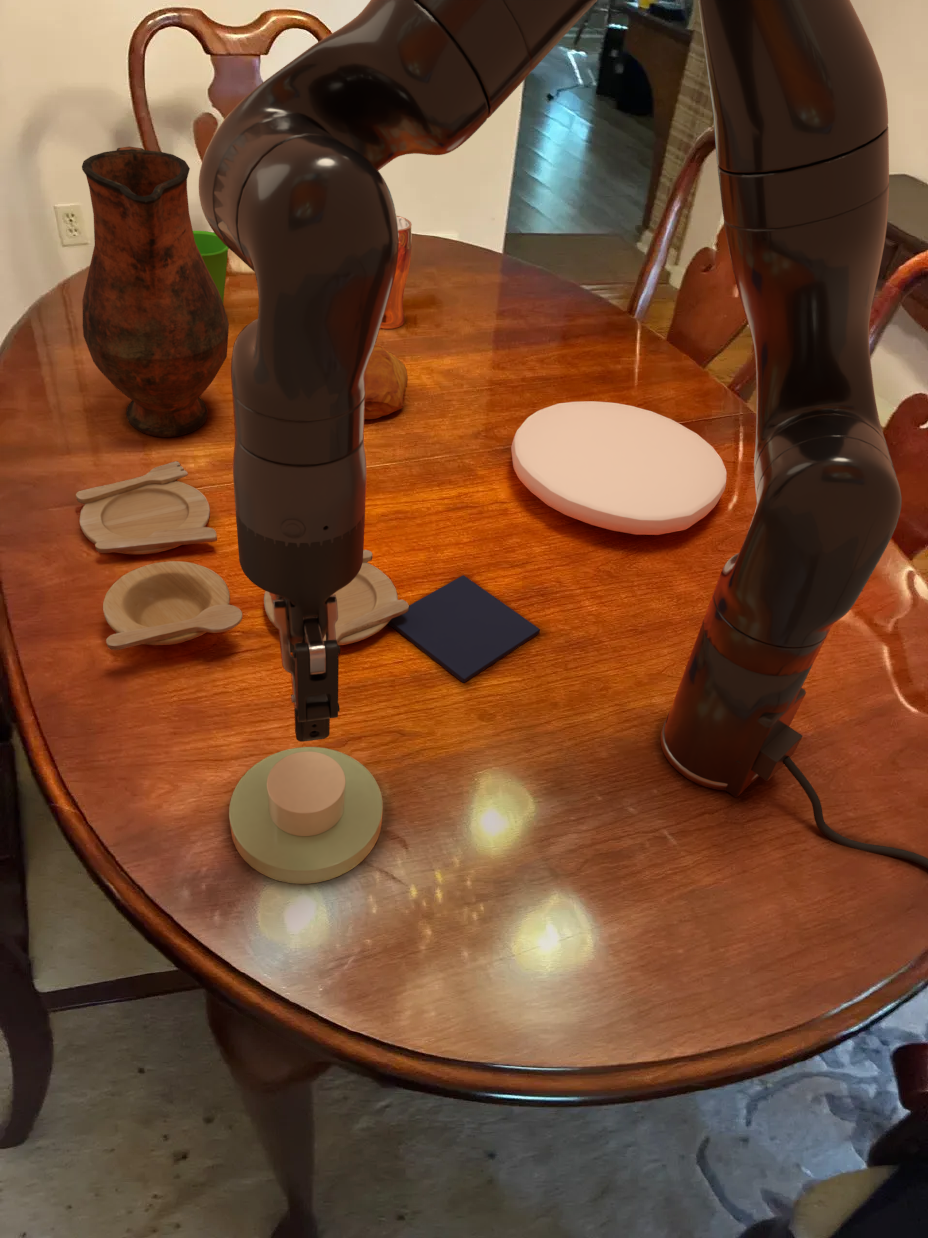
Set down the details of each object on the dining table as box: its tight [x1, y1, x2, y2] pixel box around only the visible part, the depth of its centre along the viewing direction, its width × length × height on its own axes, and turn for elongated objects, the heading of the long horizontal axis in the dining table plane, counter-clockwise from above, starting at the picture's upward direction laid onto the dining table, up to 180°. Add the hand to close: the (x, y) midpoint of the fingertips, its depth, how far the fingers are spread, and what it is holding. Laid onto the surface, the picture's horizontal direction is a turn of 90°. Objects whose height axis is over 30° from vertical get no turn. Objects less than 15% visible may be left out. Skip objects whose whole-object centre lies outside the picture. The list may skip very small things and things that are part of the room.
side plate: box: [228, 746, 384, 885], centre depth 74 cm, size 12×12×2 cm
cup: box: [193, 230, 230, 303], centre depth 136 cm, size 9×9×11 cm
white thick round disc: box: [510, 400, 728, 536], centre depth 114 cm, size 28×6×27 cm
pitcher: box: [81, 146, 230, 438], centre depth 109 cm, size 17×21×30 cm
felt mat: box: [387, 574, 541, 684], centre depth 93 cm, size 11×11×1 cm
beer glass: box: [380, 215, 413, 330], centre depth 139 cm, size 7×7×15 cm
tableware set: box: [75, 460, 410, 651], centre depth 95 cm, size 35×29×4 cm
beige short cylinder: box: [267, 751, 346, 836], centre depth 72 cm, size 6×6×3 cm
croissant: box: [364, 343, 409, 420], centre depth 123 cm, size 14×16×8 cm
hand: (303, 690), depth 65 cm, fingers open, 8 cm apart
